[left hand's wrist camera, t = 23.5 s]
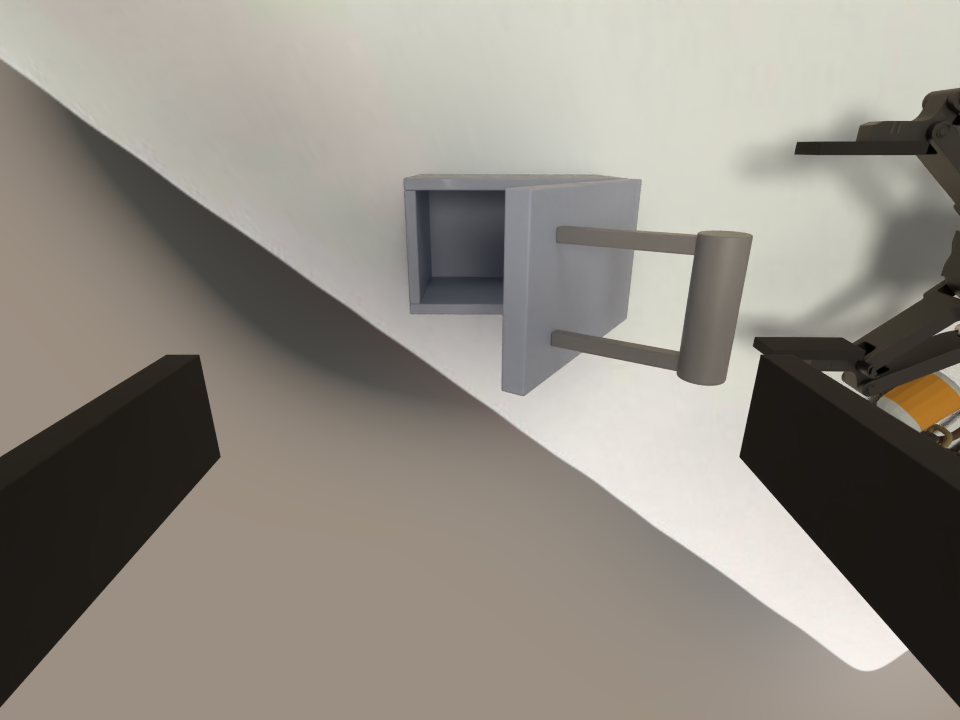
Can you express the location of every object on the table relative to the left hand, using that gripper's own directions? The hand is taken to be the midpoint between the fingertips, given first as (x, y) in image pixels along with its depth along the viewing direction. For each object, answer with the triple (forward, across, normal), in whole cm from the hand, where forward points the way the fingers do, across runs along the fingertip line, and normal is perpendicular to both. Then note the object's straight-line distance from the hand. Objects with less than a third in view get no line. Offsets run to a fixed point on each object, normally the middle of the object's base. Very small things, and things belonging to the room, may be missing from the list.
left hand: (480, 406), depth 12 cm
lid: (+17, +5, 0) cm, 18 cm away
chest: (+33, +2, 0) cm, 33 cm away
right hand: (+24, +21, 0) cm, 32 cm away
